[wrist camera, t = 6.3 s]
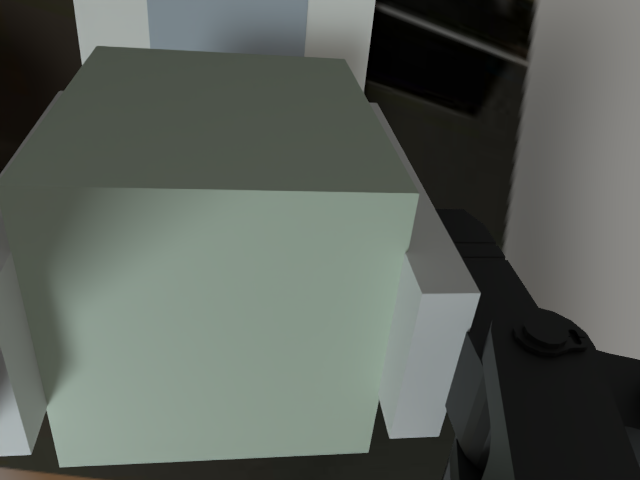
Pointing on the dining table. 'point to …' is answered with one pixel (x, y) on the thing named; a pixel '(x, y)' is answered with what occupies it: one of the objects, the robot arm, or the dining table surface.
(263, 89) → the sage block
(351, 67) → the board
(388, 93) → the dining table surface
